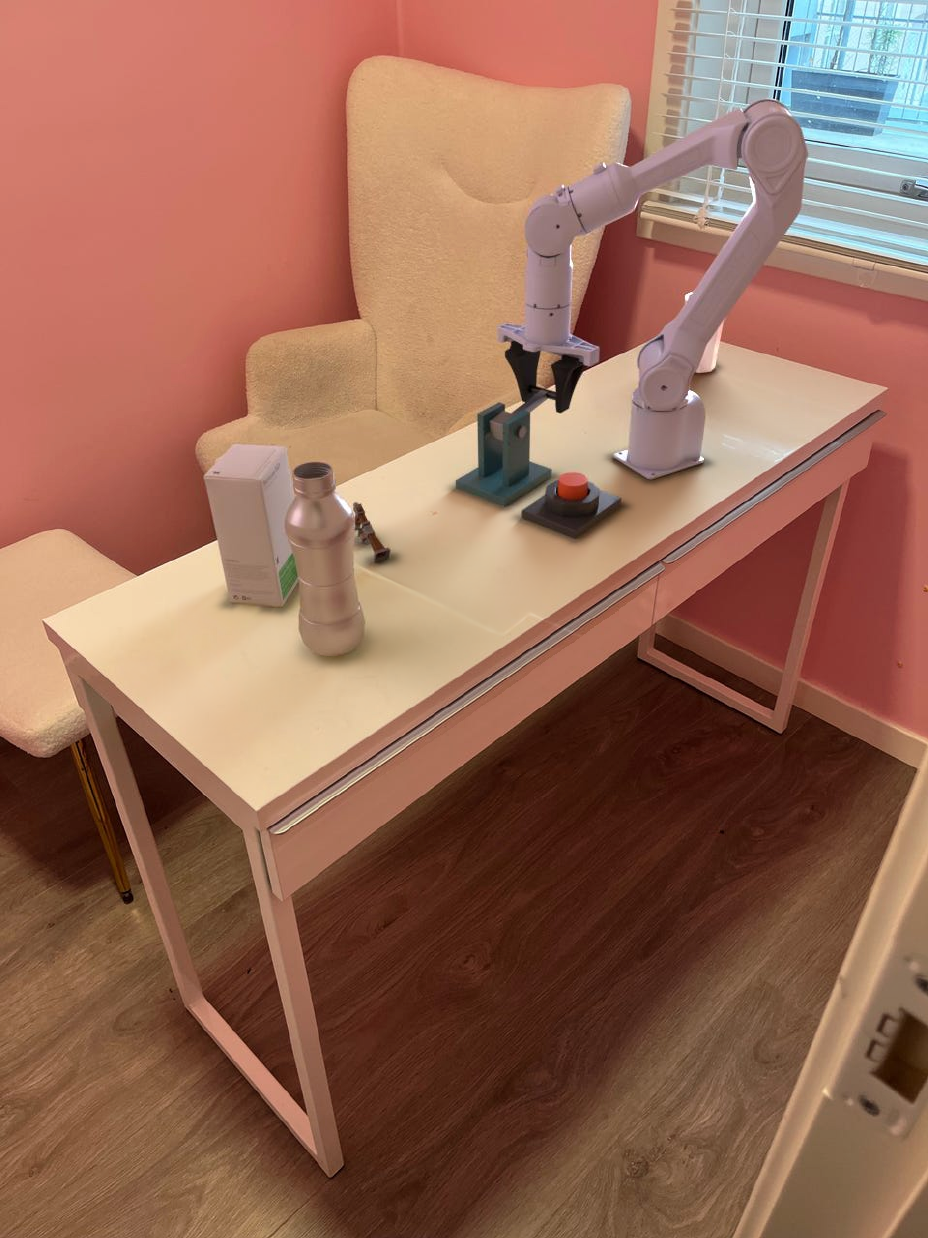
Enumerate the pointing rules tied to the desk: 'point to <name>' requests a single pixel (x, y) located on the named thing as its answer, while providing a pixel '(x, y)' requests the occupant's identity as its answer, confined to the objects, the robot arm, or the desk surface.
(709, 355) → the cup
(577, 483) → the button
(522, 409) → the lever
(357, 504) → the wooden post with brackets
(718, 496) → the desk surface
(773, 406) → the desk surface
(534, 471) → the bracket
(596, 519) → the control block
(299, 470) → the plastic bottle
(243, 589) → the cosmetic box
